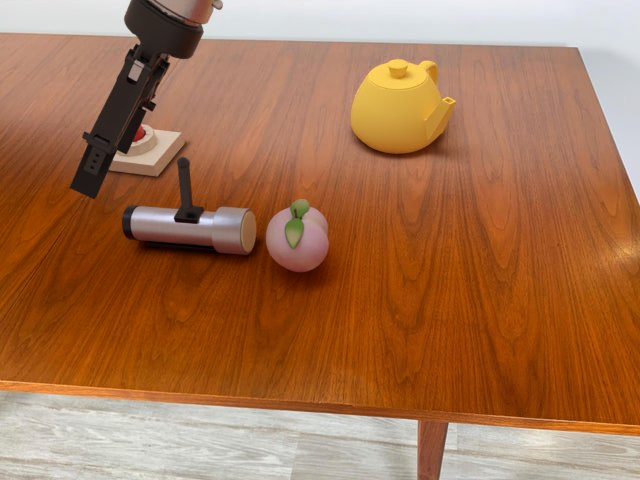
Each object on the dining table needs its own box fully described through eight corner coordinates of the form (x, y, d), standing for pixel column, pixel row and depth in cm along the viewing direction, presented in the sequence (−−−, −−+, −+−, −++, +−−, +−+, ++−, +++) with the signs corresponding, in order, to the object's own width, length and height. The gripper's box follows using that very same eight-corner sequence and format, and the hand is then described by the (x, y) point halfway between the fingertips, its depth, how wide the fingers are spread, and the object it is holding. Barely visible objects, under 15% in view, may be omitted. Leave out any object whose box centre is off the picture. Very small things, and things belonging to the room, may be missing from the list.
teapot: (332, 133, 103) (325, 64, 94) (404, 94, 112) (404, 27, 103) (416, 179, 93) (418, 107, 84) (487, 132, 103) (496, 62, 93)
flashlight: (129, 254, 82) (113, 219, 78) (148, 225, 87) (133, 190, 82) (247, 264, 81) (237, 229, 76) (260, 234, 85) (252, 199, 80)
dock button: (115, 142, 96) (111, 133, 95) (128, 129, 99) (124, 120, 97) (137, 145, 95) (134, 135, 94) (149, 132, 98) (146, 123, 97)
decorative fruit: (273, 245, 83) (261, 189, 76) (330, 240, 84) (323, 184, 76) (271, 293, 77) (257, 236, 69) (333, 287, 77) (326, 231, 70)
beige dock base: (92, 168, 97) (82, 147, 94) (123, 136, 104) (115, 116, 101) (157, 176, 95) (149, 156, 92) (184, 143, 102) (178, 123, 99)
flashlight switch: (178, 208, 78) (174, 157, 76) (184, 205, 80) (179, 155, 77) (190, 209, 78) (185, 158, 76) (195, 206, 80) (191, 156, 77)
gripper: (185, 54, 53) (102, 232, 61) (220, 9, 73) (154, 147, 82) (101, 4, 50) (26, 198, 59) (162, -28, 70) (100, 119, 79)
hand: (101, 169), depth 70 cm, fingers open, 13 cm apart
